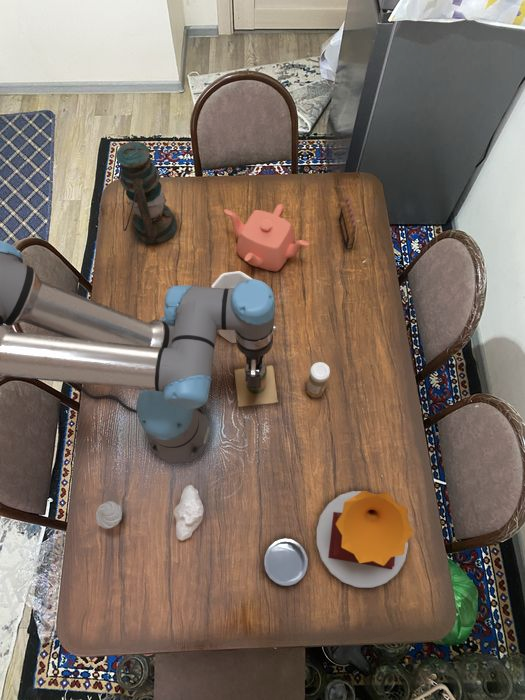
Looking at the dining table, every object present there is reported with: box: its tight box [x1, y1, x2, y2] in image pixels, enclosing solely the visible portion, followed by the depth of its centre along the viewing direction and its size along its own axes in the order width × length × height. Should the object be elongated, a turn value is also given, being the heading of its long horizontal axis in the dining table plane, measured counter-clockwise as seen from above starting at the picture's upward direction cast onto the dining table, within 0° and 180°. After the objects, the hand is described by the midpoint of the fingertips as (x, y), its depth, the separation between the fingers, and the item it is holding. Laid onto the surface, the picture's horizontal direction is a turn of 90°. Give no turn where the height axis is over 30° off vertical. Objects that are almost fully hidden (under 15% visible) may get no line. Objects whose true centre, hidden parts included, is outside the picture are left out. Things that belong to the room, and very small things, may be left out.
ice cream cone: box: [94, 500, 123, 529], centre depth 112 cm, size 6×6×15 cm
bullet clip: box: [338, 193, 358, 250], centre depth 145 cm, size 11×2×12 cm, turn 8°
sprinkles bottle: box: [305, 361, 331, 398], centre depth 125 cm, size 5×5×14 cm
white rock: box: [173, 484, 205, 541], centre depth 115 cm, size 12×8×11 cm
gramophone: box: [315, 489, 414, 589], centre depth 106 cm, size 20×20×25 cm
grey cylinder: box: [263, 538, 309, 587], centre depth 113 cm, size 9×9×6 cm
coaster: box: [233, 364, 279, 408], centre depth 132 cm, size 10×10×1 cm
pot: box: [223, 203, 310, 272], centre depth 142 cm, size 18×17×12 cm
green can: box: [244, 361, 267, 394], centre depth 126 cm, size 5×5×12 cm
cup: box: [210, 270, 253, 344], centre depth 130 cm, size 11×11×18 cm
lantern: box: [115, 141, 178, 246], centre depth 137 cm, size 19×14×30 cm
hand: (255, 374), depth 124 cm, fingers closed on green can, 5 cm apart
